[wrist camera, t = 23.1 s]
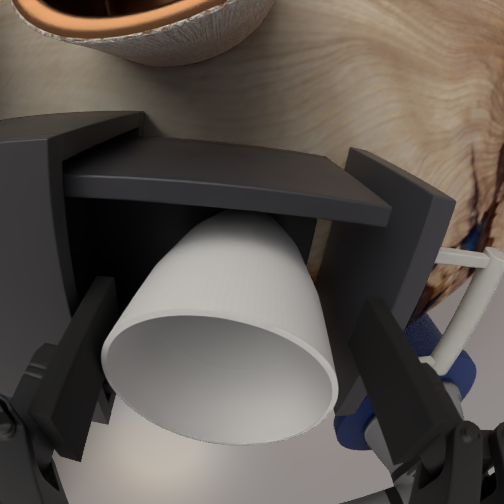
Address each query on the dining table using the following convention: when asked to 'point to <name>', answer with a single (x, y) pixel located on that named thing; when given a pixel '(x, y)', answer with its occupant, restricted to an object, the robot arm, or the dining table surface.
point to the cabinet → (43, 233)
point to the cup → (226, 337)
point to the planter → (147, 26)
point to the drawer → (287, 216)
